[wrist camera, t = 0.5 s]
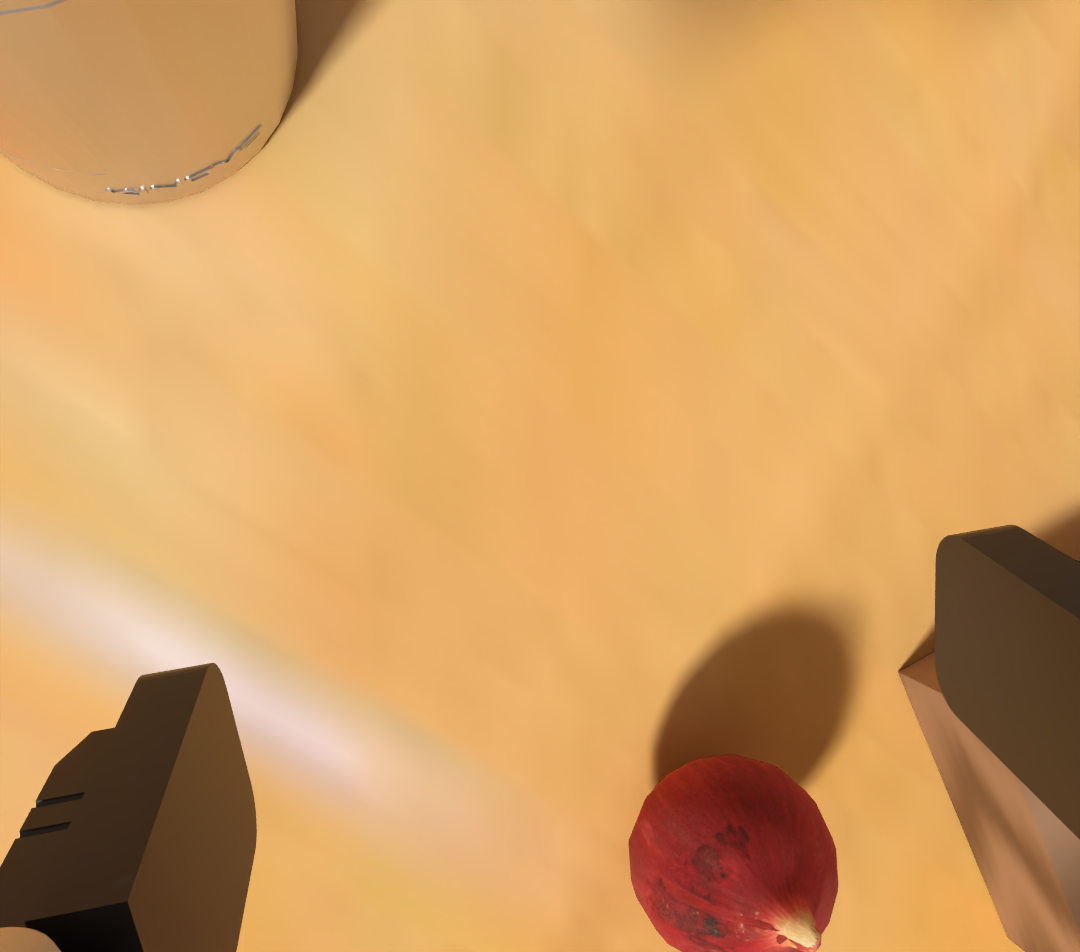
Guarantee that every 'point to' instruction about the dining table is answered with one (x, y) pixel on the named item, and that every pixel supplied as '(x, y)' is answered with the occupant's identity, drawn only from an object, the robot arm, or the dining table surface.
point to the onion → (734, 859)
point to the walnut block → (1003, 826)
